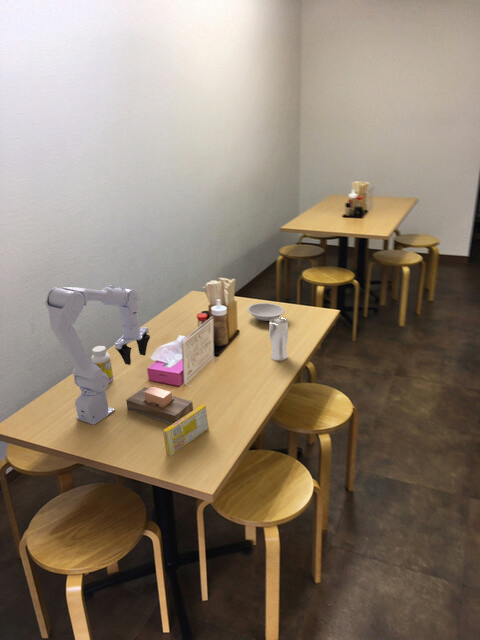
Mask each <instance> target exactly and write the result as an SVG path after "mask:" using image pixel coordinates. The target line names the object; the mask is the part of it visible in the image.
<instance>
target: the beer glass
mask: <svg viewBox="0 0 480 640" xmlns="http://www.w3.org/2000/svg"><path fill="white" fill-rule="evenodd" d="M268 330H269V331H268V332H269V339H270V343H271V344H270V345H271V350H272V351H271V357H270V358H271V359H272V360H274V361H275V362H281V361H285V360H287V359H288V352H287V345H288V338H289V324H288V319H286V318H284V317H278V318H273V319H271V320H270V321H269V329H268Z"/></svg>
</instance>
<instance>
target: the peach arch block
mask: <svg viewBox="0 0 480 640" xmlns="http://www.w3.org/2000/svg"><path fill="white" fill-rule="evenodd" d="M144 396H145V400H146V402H147V403H149V404H153V403H156V404H158V406H159V407H161V408H165V407H166V406H168V405H169V404H170V403H171V401H172V396H173V394H172V391H169V390H165V389H162V388H159V387H156V386H151V387H149V389H148V390H146V391H145V392H144Z"/></svg>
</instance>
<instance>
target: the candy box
mask: <svg viewBox="0 0 480 640" xmlns="http://www.w3.org/2000/svg"><path fill="white" fill-rule="evenodd" d="M209 429H210V428H209V420H208V414H207V406H206V405H204V404H201V405H199V406H197V407H196V408H195V409H194V408H193V411H192V412H190V413H189V414H187V415H185V416H184V417H182V418H181V419H179V420H178V421H176V422H175V423H173V424H170V425H169V426H167V427H166V428H164V429H162V432H163V440H164V445H165V452H166V455H168V456H169V457H172V456H173V455H174V454H175V453H177V452H179V451H180V450H181V449H183V448H184V447H185V446H187V445H188V444H190V443H191V442H193V441H194V440H195V439H197V438H198V437H200V436H202V434H204V433H205V432H207V431H208V430H209Z"/></svg>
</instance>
